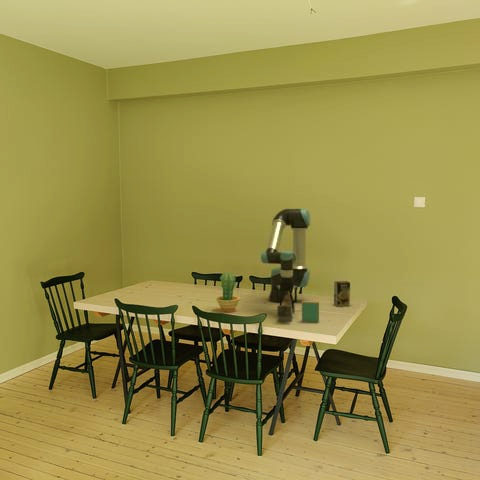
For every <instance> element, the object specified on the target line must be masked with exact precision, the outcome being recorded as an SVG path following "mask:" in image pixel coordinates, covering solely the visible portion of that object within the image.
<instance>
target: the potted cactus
mask: <svg viewBox="0 0 480 480" xmlns="http://www.w3.org/2000/svg"><path fill="white" fill-rule="evenodd" d="M219 279H220V282H221V283H220V284H221V288H222V296H218V297H216V302H217V303H218V305H219V307H220V308H221V310H222V311H221V312H223V311H227V312H226V313H233V312H235V311H236V308H237V306H238V304H239V302H240V301H241V300H240V297H239V296H236V295H233V293H234V289H235V286H236V277H235V276H234V275H233V273H232V272H227V271H226V272H224V273H223V274H221V276H220V277H219ZM232 311H233V312H232Z"/></svg>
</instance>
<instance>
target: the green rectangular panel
mask: <svg viewBox="0 0 480 480" xmlns="http://www.w3.org/2000/svg"><path fill="white" fill-rule="evenodd" d="M301 322H302V323H319V322H320V301H310V300H309V301H308V300H306V301H305V300H302V301H301Z"/></svg>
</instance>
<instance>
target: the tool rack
mask: <svg viewBox="0 0 480 480" xmlns="http://www.w3.org/2000/svg"><path fill="white" fill-rule="evenodd" d="M295 307H296V305H295V304H294V308H292V313H291V317H281V316H277V321H278V322H292V321H293V314H295V312H296V308H295Z"/></svg>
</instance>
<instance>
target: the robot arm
mask: <svg viewBox="0 0 480 480" xmlns="http://www.w3.org/2000/svg"><path fill="white" fill-rule="evenodd" d="M271 226H272V228H271V231H270V236H269V240H268V242H267V248H266V251H262V252H261V254H260V260H261V261H260V262H261V263H263V264H266V265H267V264H270V265H275V264H276V265H280V267H276V268H273V269H271V272H270V273H271V274H270V284H271V286H270V287H271V288H270V289H271V290H270V292H269V295H268V301H269V302H271V303H278V304H279V306H281V305H282V302H283V300H284V298H285V296H286V295H290V298H291V302H292V303H291V313H292V308H294V305H295V304H296V303H297V302H298V297H297V296H298V294H297V293H298V291H297V290H298V289H299V288H306V287H307V286H308V284H309V280H310V274H311V273H310V272H311V271H310V270H308V267H307V266H306V231H307V230H308V229H309V227H310V226H311V216H310V212H309V210H308V209H306V208H284V209H282V210H281V211H278V212H277V214H275V215H274V217H273V219H272V222H271ZM288 226H289V227H290V229H291V230H292V251H291V250H283V251H282V250H281V252H279V249H280V245H281V240H282V238H283V233H284V230H285V228H286V227H288ZM292 290H294V297H293V293H292ZM292 314H293V313H292Z"/></svg>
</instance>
